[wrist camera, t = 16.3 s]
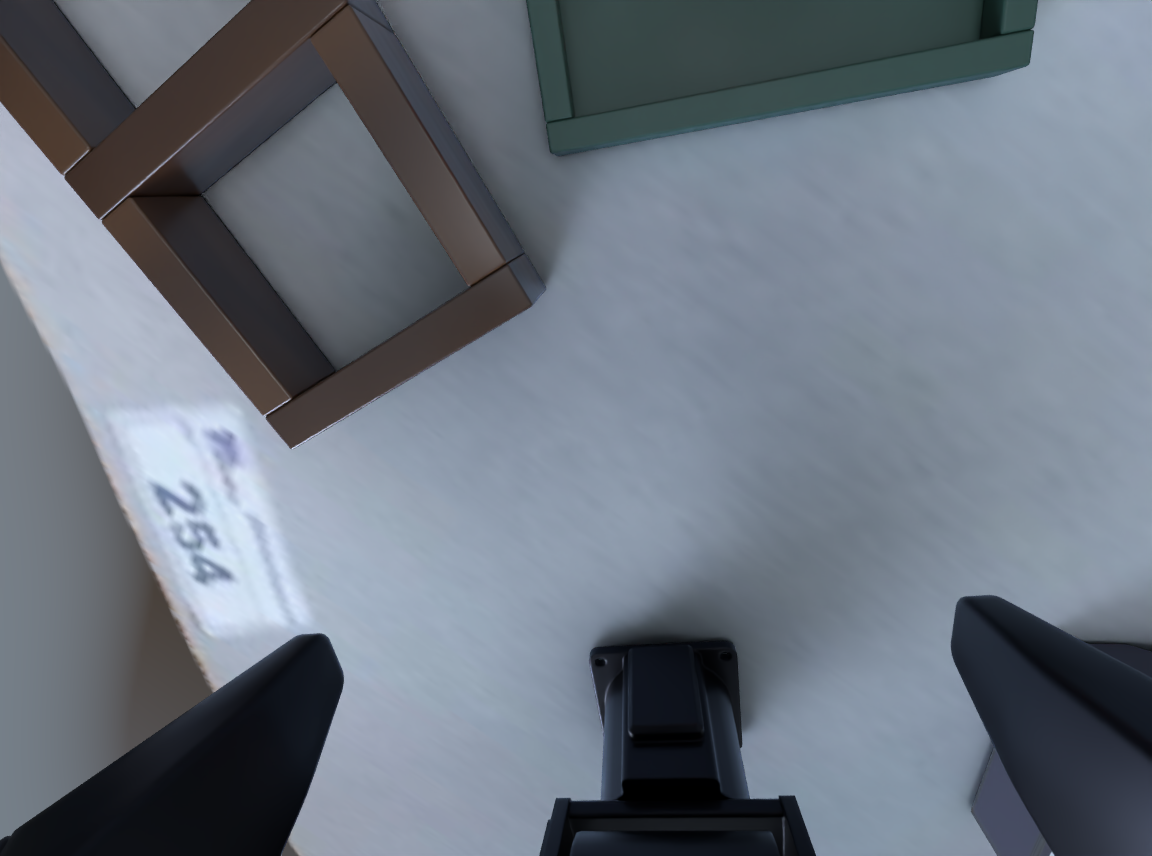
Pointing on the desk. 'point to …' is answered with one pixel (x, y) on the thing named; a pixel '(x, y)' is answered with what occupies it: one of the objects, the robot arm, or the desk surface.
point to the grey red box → (999, 801)
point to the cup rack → (221, 140)
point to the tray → (753, 59)
